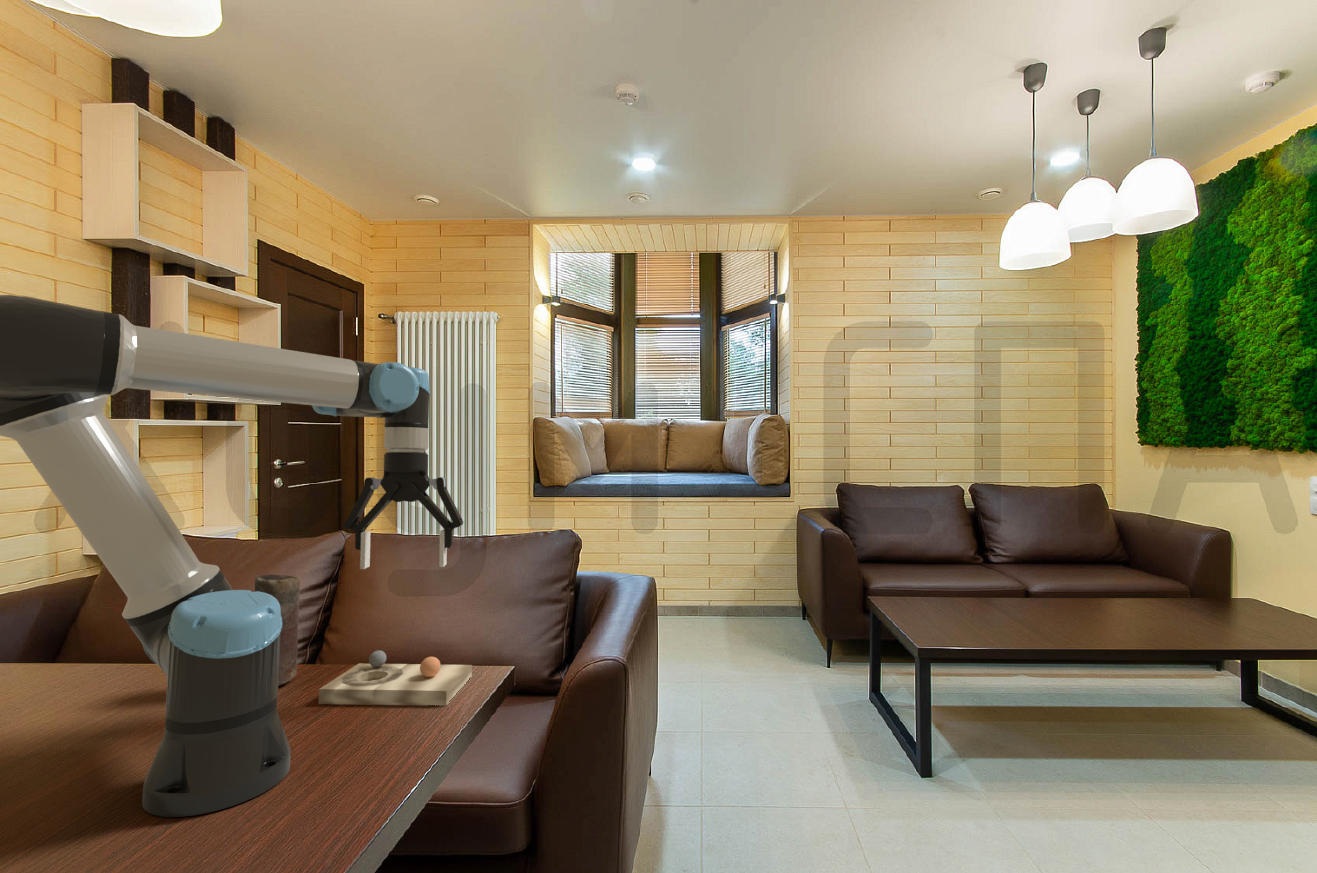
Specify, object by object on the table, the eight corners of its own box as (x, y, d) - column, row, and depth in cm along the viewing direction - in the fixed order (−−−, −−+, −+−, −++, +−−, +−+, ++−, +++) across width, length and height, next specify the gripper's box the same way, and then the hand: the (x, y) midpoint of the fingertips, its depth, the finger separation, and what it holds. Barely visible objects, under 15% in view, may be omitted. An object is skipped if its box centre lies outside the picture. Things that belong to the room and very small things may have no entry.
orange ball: (443, 677, 106) (443, 657, 106) (423, 681, 104) (424, 661, 104) (436, 671, 109) (436, 652, 109) (417, 676, 106) (417, 656, 106)
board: (471, 678, 112) (471, 665, 112) (446, 705, 99) (446, 690, 100) (358, 676, 113) (359, 663, 113) (318, 704, 100) (319, 689, 100)
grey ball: (388, 667, 111) (388, 651, 111) (371, 670, 109) (371, 654, 109) (383, 663, 113) (384, 647, 113) (366, 666, 111) (367, 650, 111)
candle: (264, 677, 112) (268, 572, 113) (304, 675, 113) (308, 571, 114) (240, 692, 104) (245, 579, 105) (283, 691, 105) (288, 579, 106)
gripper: (479, 451, 113) (477, 561, 113) (342, 451, 110) (339, 564, 109) (472, 451, 106) (471, 568, 105) (325, 450, 102) (322, 572, 101)
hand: (404, 567), depth 107 cm, fingers open, 13 cm apart
